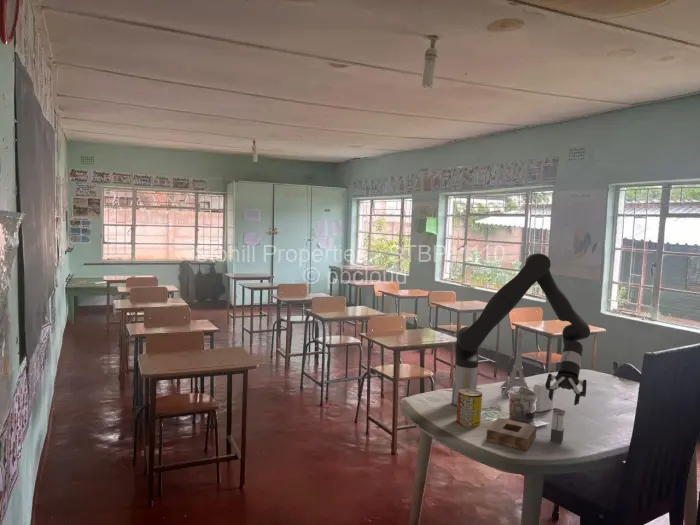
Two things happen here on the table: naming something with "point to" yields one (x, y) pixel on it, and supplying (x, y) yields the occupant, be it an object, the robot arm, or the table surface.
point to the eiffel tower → (513, 380)
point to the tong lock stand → (511, 433)
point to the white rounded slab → (542, 397)
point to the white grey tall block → (557, 426)
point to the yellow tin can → (469, 407)
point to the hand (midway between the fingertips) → (563, 401)
